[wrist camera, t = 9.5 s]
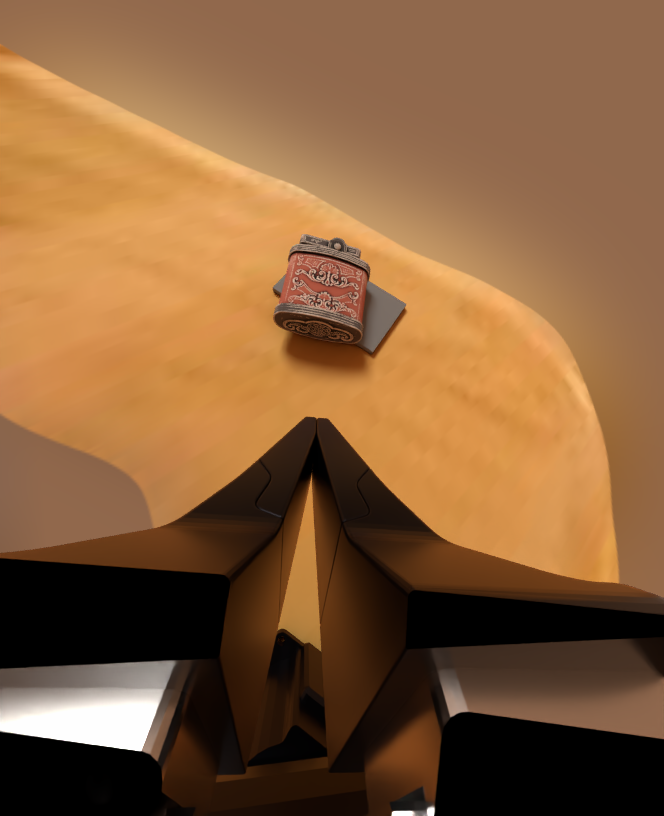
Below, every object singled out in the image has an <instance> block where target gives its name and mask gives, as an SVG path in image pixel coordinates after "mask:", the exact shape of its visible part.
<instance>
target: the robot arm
mask: <svg viewBox="0 0 664 816" xmlns="http://www.w3.org/2000/svg"><path fill="white" fill-rule="evenodd" d="M311 474H312V492H313V510H314V527H315V545H316V563H317V580H318V598H319V615H320V624H321V625H320V634H321V651H322V652H321V651H319V650H318V649H317V648H315V647H314V646H313V645H312V644H310V643H305V644H304V643H302V642H301V641H300V640H299V639H297V638H296V637H295V636H293V635H292V634H291V633H289V632H288V631H287V630H285V629H280V630H278V623H279V620H280V616H281V611H282V607H283V602H284V598H285V593H286V589H287V584H288V580H289V575H290V571H291V566H292V562H293V557H294V553H295V548H296V544H297V539H298V535H299V530H300V526H301V521H302V517H303V512H304V508H305V503H306V499H307V494H308V490H309V485H310V481H311ZM277 630H278V631H277ZM279 637H284V638H285V640H284V641H283V642H280V641H279V640H278V638H279ZM0 816H664V598H663V597H660V596H658V595H655V594H653V593H649V592H646V591H643V590H641V589H637V588H635V587H632V586H629V585H625V584H618V583H607V582H592V581H585V580H579V579H574V578H570V577H565V576H561V575H557V574H553V573H549V572H545V571H542V570H538V569H535V568H532V567H528V566H525V565H521V564H518V563H515V562H511V561H508V560H505V559H501V558H498V557H495V556H491V555H488V554H485V553H481V552H478V551H475V550H471V549H468V548H465V547H461V546H458V545H455V544H453V543H451V542H448V541H447V540H445V539H443V538H442V537H440V536H439V535H437V534H436V533H435V532H434V531H433V530H431V529H430V528H429V527H428V526H427V525H426V524H425V523H424V522H423V521H422V520H421V519H420V518H418V517H417V516H416V515H415V514H414V513H413V512H412V511H411V510H410V509H409V508H408V507H407V506H406V505H405V504H404V503H403V502H402V501H400V500H399V499H398V498H397V497H396V496H395V495H394V494H393V493H392V492H391V491H390V490H389V489H388V488H387V487H386V486H385V485H384V483H383V482H382V481H381V480H380V479H379V478H378V477H377V476H376V475H375V473H374V472H373V471H372V470H371V469H370V468H369V466H368V465H367V464H366V463H365V462H364V461H363V459H362V458H361V457H360V456H359V455H358V453H357V452H356V451H355V450H354V449H353V448H352V446H351V445H350V444H349V443H348V442H347V440H346V439H345V438H344V437H343V436H342V435H341V433H340V432H339V431H338V430H337V429H336V428H335V426H334V425H333V424H332V423H331V422H330V420H329V419H326V418H318V419H316V418H315V417H305V418H304V419H303V420H302V421H300V422H299V423H298V424H297V425H296V426H295V427H294V428H293V429H292V430H290V431H289V432H288V433H287V434H286V435H285V436H284V437H283V438H282V439H280V440H279V441H278V442H277V443H276V444H275V445H274V446H273V447H272V448H270V449H269V450H268V451H267V452H266V453H265V454H264V455H263V456H262V457H260V458H259V460H257V461H256V462H255V463H254V464H253V465H251V466H250V467H249V468H248V469H247V470H246V471H244V472H243V473H242V474H241V475H240V476H238V477H237V478H236V479H234V480H233V481H232V482H230V483H229V484H228V485H226V486H225V487H224V488H222V489H221V490H219V491H218V492H216V493H215V494H214V495H212V496H211V497H209V498H208V499H207V500H205V501H204V502H202V503H201V504H199V505H198V506H197V507H195V508H194V509H192V510H191V511H190V512H188V513H187V514H185V515H184V516H182V517H181V518H179V519H177V520H175V521H173V522H171V523H169V524H167V525H164V526H161V527H158V528H153V529H148V530H143V531H137V532H132V533H126V534H120V535H115V536H109V537H103V538H98V539H93V540H87V541H81V542H75V543H70V544H64V545H59V546H53V547H46V548H40V549H33V550H25V551H17V552H7V553H0Z"/></svg>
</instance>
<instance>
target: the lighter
mask: <svg viewBox="0 0 664 816" xmlns="http://www.w3.org/2000/svg"><path fill="white" fill-rule="evenodd" d="M360 255H361V250H360V249H358V248H355V247H351V246H347V244H345V242H344V240H342V239H340V238H333V239H332V240H330V241H329V240H325V239H322V238H318V237H314V236H311V235H307V234H303V235H302V236H301V239H300V244H296V245H294V246H292V248H291V249H290V253H289V257H288V262H289V265H288V269H287V273H286V277H285V281H284V285H283V289H282V293H281V297H280V301H279V304H278V305H277V306H276V308H275V312H274V316H273V320H274V322H275V323H276V325H278V326H279V327H280V328H282V329H285V330H288V331H291V332H294V333H297V334H300V335H304V336H308V337H311V338H315V339H320V340H326V341H331V342H339V343H348V344H353V343H357V342H359V341H360V340H361V339H362V334H363V324H362V319H363V311H364V303H365V295H366V287H367V282H368V281H369V277H370V266H369V265H368V263H366V262H365V261H363V260H361V259H360Z"/></svg>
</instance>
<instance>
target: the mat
mask: <svg viewBox="0 0 664 816" xmlns="http://www.w3.org/2000/svg"><path fill="white" fill-rule="evenodd" d="M285 277H286V274H285V275H284V276H283V277H282V279H281V280H280V281H279V282H278V283H277V284H276V285H275V286H274V287H273V291H274V292H275V293H277V294H278V295H280V296H281V293H282V289H283V285H284V281H285ZM405 306H406V304H405V303H404V302H402V301H400V300H399V299H397V298H396V297H394V296H392V295H391V294H389V293H387V292H386V291H384V290H383V289H381V288H379V287H378V286H376V285H374V284H373V283H371V282H370V281H368V282H367V287H366V295H365V303H364V311H363V319H362V324H363V334H362V339H361V340H360V341H359V342H357V343H354V344H356V345H358V346H359V347H361V348H362V349H364V350H365V351H367V352H368V353H370V354H372V353H373V352H374V350H375V349H376V348H377V346H378V345H379V343H380V342H381V340H382V339H383V338H384V336H385V335H386V333H387V332H388V331H389V329H390V328H391V326H392V325H393V323H394V322H395V321H396V319H397V318H398V316H399V315H400V314H401V312H402V311H403V309H404V308H405Z"/></svg>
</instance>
